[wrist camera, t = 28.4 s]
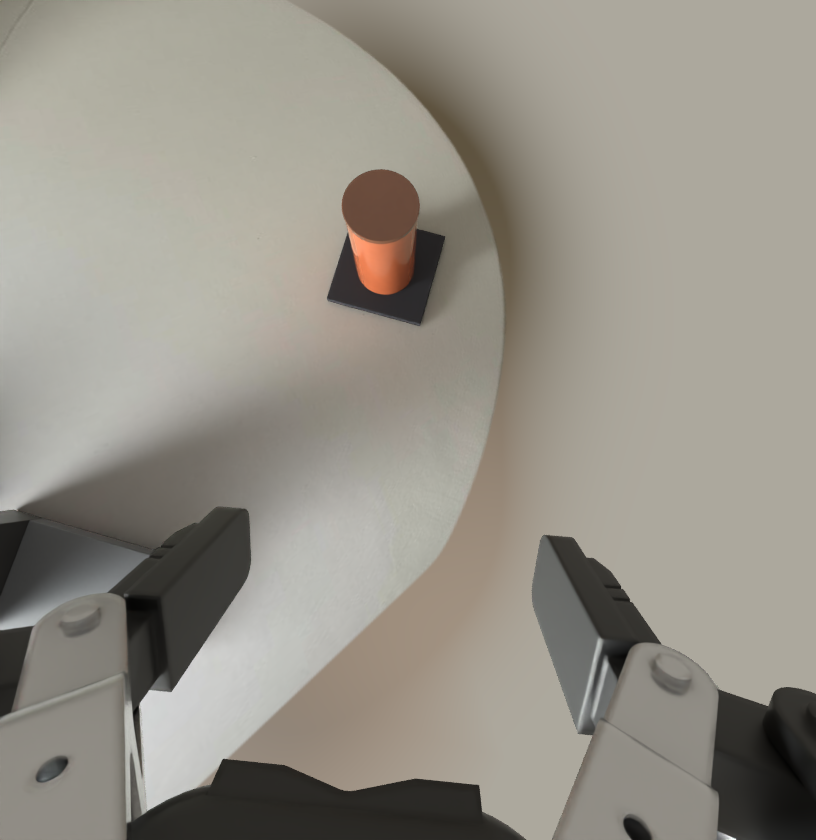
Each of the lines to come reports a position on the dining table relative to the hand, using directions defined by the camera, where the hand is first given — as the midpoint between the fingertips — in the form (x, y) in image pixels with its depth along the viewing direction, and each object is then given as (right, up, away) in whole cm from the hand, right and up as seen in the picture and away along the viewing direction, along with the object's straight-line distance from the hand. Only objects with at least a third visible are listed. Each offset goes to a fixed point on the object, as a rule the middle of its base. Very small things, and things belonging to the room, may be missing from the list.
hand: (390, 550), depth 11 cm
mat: (-2, +19, +31) cm, 37 cm away
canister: (-2, +19, +31) cm, 37 cm away
